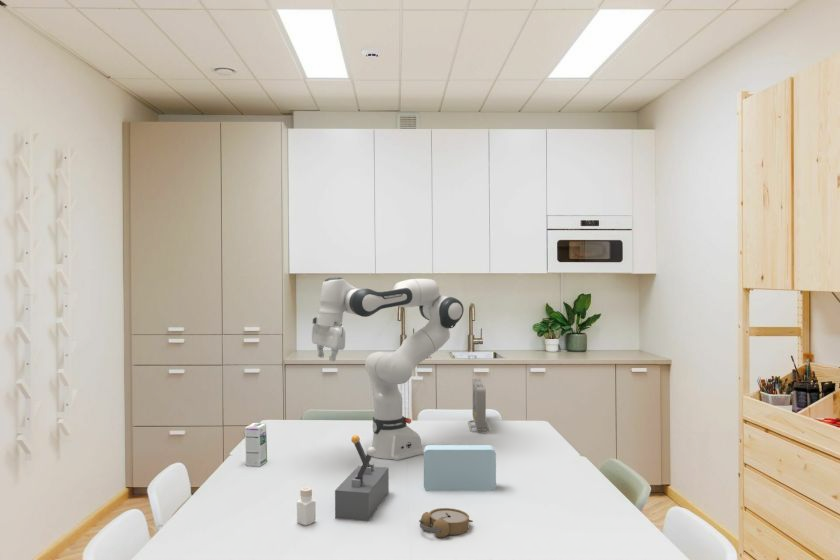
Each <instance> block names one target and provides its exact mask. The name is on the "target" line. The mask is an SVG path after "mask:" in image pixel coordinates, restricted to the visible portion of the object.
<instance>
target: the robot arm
mask: <svg viewBox="0 0 840 560" xmlns="http://www.w3.org/2000/svg"><path fill="white" fill-rule="evenodd" d="M319 302H320V306H319V309H318V315H317V316H314V317H313V318H312V324H313V325H312V327H311V328H312V330H311V331H312V332H311V342H312V344H314V345H316V350H317V357H318V358H322V359H323V358H324V357H325V353H324V347H325V348H329V349H330V351H331V352H330V355H329V362H336V359H337V356H338V353H339V351H342V350H344V349H345V347H346V330H345V327H344V326H343V317H344V312H345V313H347V314H352V315H355V316H356V315H357V316H359V317H364V318H365V317H366V318H367V317H371V316H373V315H375V314H376V313H377V312H379V311H380V310H383V309H387V308H389V309H390V308H394V307H399V308H414V307H418V308H419V313H420V315H421V316H422V317H423V318H424V319H425V320H428V322H427V324H425V326H423V327H421V328H420V329H418V330H417V331H415V332H414V333H412V334H411V335H409V336H407V337H406V338H405V339H404V340H402V343H401V345H400V346H399V347H398V348H397V350H395V351H393V352H391V353H390V352H387V351H375V352H372V353H371V354H369V355H368V356H367V358H366V360H365V363H364V365H365V370H366V372H367V375H368V377H369V380H370V381H369V382H370V386H371V390H372V396H373V417H372V432H373V434H372V441H371V442H372V443H371V447H374V448H375V450H376V453H375V455H373V456H372V457H374V458H377V459H385V460H389V459H390V460H395V461H400V460H404V459H408V458H412V457H415V456H419V455H424V447H425V445H423V444H422V439H421V436H420V435H419V433H417V432H416V431H415V430H414V429H412V428H411V427H410V426H408V424H411V423H412V419H411V418H410V417H405V416H403V396H402V394H401V391H400V389H399V387H398V385H404V384H405V383H408V382H409V381H410V379H411V378H412V374H413V372H414V370H415V369H416V368H417V366H418V365H419V364H421V363H422V362H423V361H425V360H426V359H428V358H429V357H430V356H432V355H433V354H435V353H436V352H437V351H438V350H439V349H441V348H442V347H443V346H444V345H445V344H446V343H447V342H448V341H449V340H450V336H451V332H450V329H453V328H454V327H456V325H457V323H458V322H459V321H461V319H462V318H463V315H464V311H465V309H464V305H463V303H462V301H460V300H459V299H457V298H455V297H452V296H446V295H441V293H440V287H439V284H438V282H437V281H436V280H434V279H431V278H411V279H409V278H408V279H405V280H402V281H398V282H396V283H395V285H394V286H393V289H389V290H383V291H377V290H374V289H369V288H357V287H355V286H353V285H352V284H351V283H348V282H347V281H346V279H345V278H344V277H328V278H326V279H324V280H323V282H322V285H321V290H320V297H319Z"/></svg>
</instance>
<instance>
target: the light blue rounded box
mask: <svg viewBox="0 0 840 560" xmlns="http://www.w3.org/2000/svg"><path fill="white" fill-rule="evenodd" d="M424 446H425V445H424ZM496 488H497V454H496V451H495V448H494V446H493V445H490V444H472V445H471V444H462V445H461V444H448V445H447V444H444V445H443V444H432V445H431V444H429V445H426V446H425V447H424V454H423V489H424V490H426V491H428V492H429V491H436V492H437V491H438V492H439V491H440V492H442V491H446V492H447V491H448V492H449V491H451V492H452V491H456V492H457V491H458V492H459V491H460V492H461V491H464V492H465V491H466V492H468V491H470V492H471V491H475V492H476V491H477V492H478V491H483V492H485V491H487V492H488V491H490V492H491V491H495V490H496Z"/></svg>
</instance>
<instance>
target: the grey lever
mask: <svg viewBox="0 0 840 560" xmlns="http://www.w3.org/2000/svg"><path fill="white" fill-rule="evenodd" d="M375 453H376V450H375V448H374V447H372V446H369V447H368V448H367V450H366V458H365V460H364V462H363V463H362V464H361V465H360V466H361V469H360V471H359V473H358V475H357V477H356V479H360V481H361V479H362V477H363V475H364V473H365V471H366V468H367V466H368V464H370V462H371V460H372V458H373V457H374V456H373V455H375Z"/></svg>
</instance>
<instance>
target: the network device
mask: <svg viewBox="0 0 840 560" xmlns="http://www.w3.org/2000/svg"><path fill="white" fill-rule="evenodd" d="M486 393H487V392H486V386H485V385H484V383H483V381H482V379H481V378H472V418H473V420H471V419H470V420H468V421H467V425H468V428H469V429H468V430H469V432H472V433H489V432H490V428H489V427H490V426H489V425H488V422H487V417H486V415H487V414H486V412H487V411H486V410H487V409H486V408H487V406H486V403H487V400H486V399H487V398H486V397H487V396H486V395H487V394H486ZM471 423H474V424H471Z"/></svg>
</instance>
